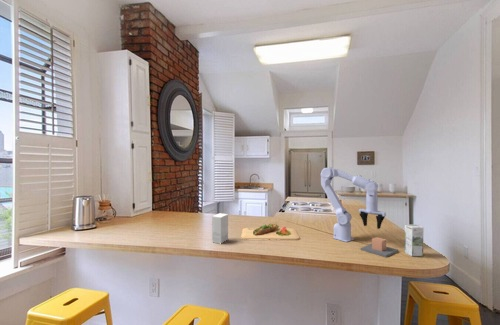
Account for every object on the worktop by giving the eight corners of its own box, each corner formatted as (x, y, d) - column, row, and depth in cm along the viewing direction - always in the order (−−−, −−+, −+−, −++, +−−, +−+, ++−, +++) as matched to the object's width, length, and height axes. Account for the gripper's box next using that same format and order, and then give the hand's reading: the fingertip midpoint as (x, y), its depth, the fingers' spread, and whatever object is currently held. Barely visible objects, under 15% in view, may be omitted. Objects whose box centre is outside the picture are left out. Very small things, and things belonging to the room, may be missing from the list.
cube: (371, 248, 130) (371, 238, 130) (376, 246, 133) (376, 237, 133) (381, 251, 126) (381, 241, 126) (386, 249, 129) (386, 239, 129)
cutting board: (294, 230, 171) (294, 219, 171) (300, 241, 148) (300, 228, 148) (242, 230, 172) (242, 219, 172) (240, 241, 149) (240, 228, 149)
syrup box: (415, 252, 127) (415, 223, 127) (423, 256, 121) (423, 226, 121) (404, 252, 127) (404, 224, 127) (412, 257, 121) (412, 226, 121)
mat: (360, 249, 131) (360, 248, 131) (373, 245, 139) (373, 243, 139) (386, 257, 121) (386, 255, 121) (398, 251, 128) (398, 249, 128)
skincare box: (219, 238, 151) (219, 213, 151) (229, 240, 148) (228, 213, 148) (211, 242, 144) (211, 215, 144) (221, 244, 141) (221, 216, 141)
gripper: (355, 201, 144) (355, 225, 144) (381, 205, 133) (381, 230, 133) (362, 200, 149) (362, 223, 149) (387, 203, 137) (387, 228, 137)
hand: (371, 227), depth 141 cm, fingers open, 7 cm apart
